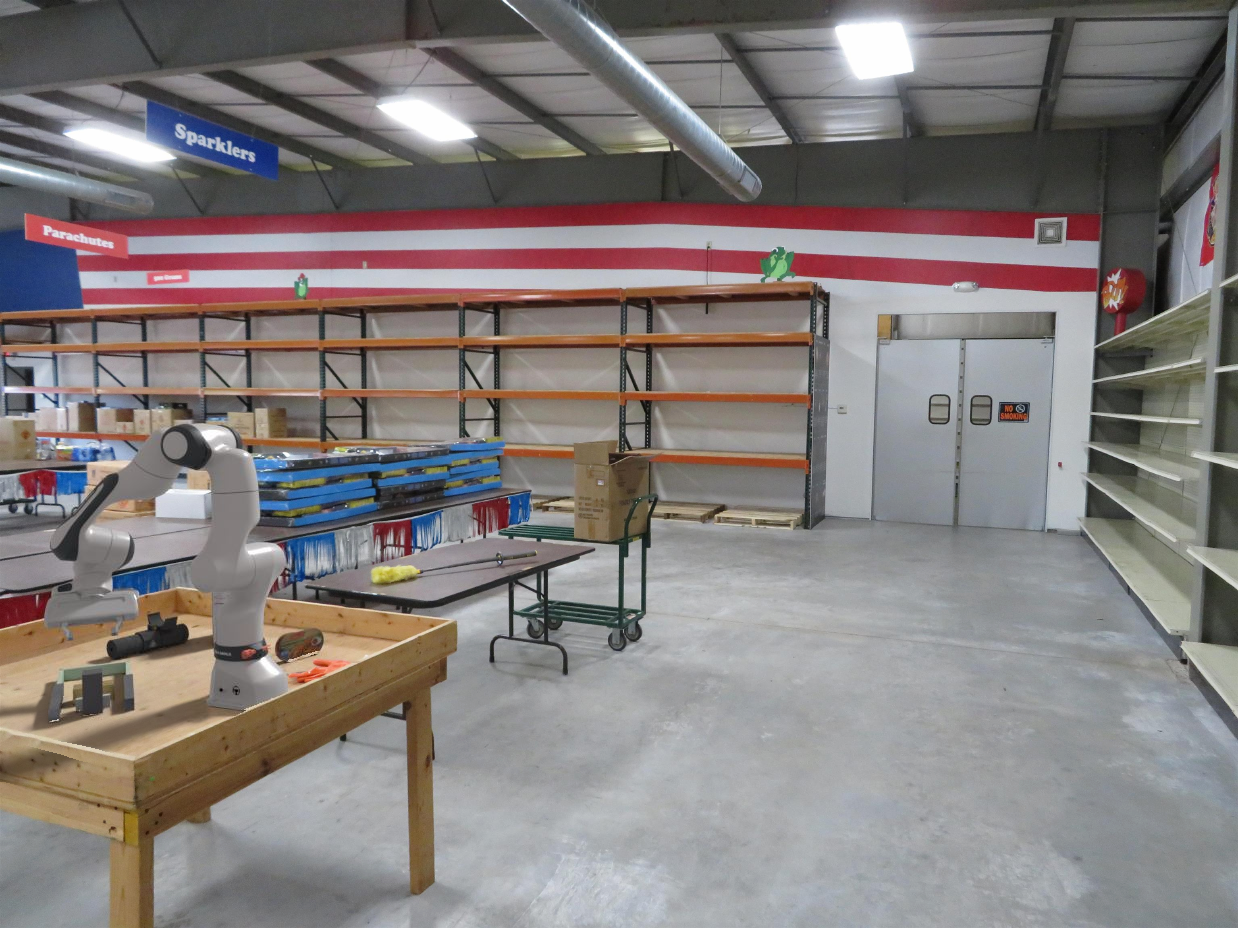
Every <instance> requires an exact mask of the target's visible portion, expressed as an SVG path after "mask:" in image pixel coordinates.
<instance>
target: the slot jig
mask: <svg viewBox="0 0 1238 928" xmlns="http://www.w3.org/2000/svg"><path fill="white" fill-rule="evenodd" d="M64 684H65V682H64V683H60V684H57V683H54V685H53V688H52V692H51V697H50V702H49V706H48V722H49V721H52V720H57V719H59V718H60V719H61V714H60V713H62V709H61V707H63V703H64V702H63V701H64V697H63V696H65V685H64ZM134 687H135V686H134V674H133V673H131V674H128V675H126V674H123V689H124V690H123V693H124V696H123V698H124V699H123V701H124V712H130V711H135V688H134ZM62 702H63V703H62Z"/></svg>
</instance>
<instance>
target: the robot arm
mask: <svg viewBox="0 0 1238 928" xmlns="http://www.w3.org/2000/svg"><path fill="white" fill-rule="evenodd" d="M243 445H244V443H243V439H242V437H241V434H240V433H239V432H238V431H237V430H236V429H234V428H232V427H230V426H227V425H223V424H210V423H209V424H208V423H206V422H205V423H204V422H200V423H197V422H196V423H181V424H176V425H174V426H172V427H168V426H167V427H164V426H163V427H159V428H158V429H157V428H156V430H154V431H153V432H152V433H151V434H150V435H149V436H148V437H147V438H146V439H145V441H144V442H143V443H142V445H140V447H139V449H138V451H137V452H136V453H135V455H134V457H133V458H132V460H131V461H130V462H129V463H128V464H127V465H126V466H125V467H123V468H122V469H120V470H118V471H117V472H113V473H109V474H107V475H106V476H105V477H104V478H103V479H102V480H101V481H100V482H99V483H98V484H97V485H95V487H94V488H93V489H92V490H91V492H89V494H88V495H87V496H86V497H85V499H84V500H83V501H82V502H81V503H80V504H79V506H78V507H77V508H76V509H75V510H74V512H72V514H71V515H70V516H69V517H68V518H67V519H65V520H64V521H63V522H62V523H61V524H60V525H59V526H58V527H57V528H56V529H55V531H54V533H53V534H52V535H51V538H50V542H49V548H50V550H51V552H52V553H53V555H54V556H55V557H56V558H57V559H58V560H59V561H63V562H72V571H73V573H74V577H73V579H72V581H68V582H66V583H62V584H59V585H55V586H54V587H52V589H51V595H50V596H51V597H50V598H49V599H48V600H47V603H46V606H45V611H44V616H43V621H44V622H43V623H44V626H45V628H46V629H59V628H61V629H60V630H61V632H62V633H63V634H64V635H65V638H66V642H71V641H74V635H75V634H74V631H70V630H69V627H79V626H80V627H81V626H88V625H89V626H91V625H99V624H107V623H108V624H109V623H110V624H111V623H116V625H115V626H111V627H110V632H111V633H110V635H111V637H114V636H115V637H116V636H119V630H120V629H121V627H122V626H123V624H124V623H123V622H127V621H135V620H136V619H137V618H138V617H139V604H138V601H139V600H140V592H139V591H138V590H137V589H135V588H133V587H126V588H113V587H114V586H113V585H114V584H113V583H114V582H113V577H112V574H113V572H117V571H118V570H120V569H122V568H123V567H125V566H126V565H128V564H129V563H130V562H131V561H132V560H133V557H134V555H135V550H136V549H135V548H136V547H135V544H136V543H135V541H134V538H133V537H132V535H131V534H130V533H129V532H126V531H123V530H118V529H114V528H113V529H112V528H106V527H102V526H96V525H93V524H94V522H95V521H96V520H97V519H98V517H99V516H100V515H101V514H102V513H103V512H104V510H106V508H108V507H109V506H111V505H113V504H116V503H119V502H126V501H128V502H129V501H140V500H142V501H143V500H152V499H156V498H159V497H161V496H163V495H165V494H166V493H167V492H168V491H169V490H170V489H171V488H172V486H173V485H174V484H175V482H176V480H177V479H178V477H179V476H180V475H179V474H180V473H181V471H182V469H183V468H187V469H190V470H194V471H200V470H201V469H203V470H205V472H207V474H208V475H209V479H210V480H209V481H210V500H211V524H210V525H211V526H210V531H209V533H208V534H209V535H208V537H207V539H206V542H205V544H204V546H203V547H202V550H201V551H200V552H199V553H198V555H197V556H195V557H194V558H193V560H192V561H191V564H190V565H189V566H190V567H189V571H188V572H189V573H188V574H189V580H190V582H191V585H192V586H193V587H194V589H196V590H197V591H198V592H200V593H205V594H212V593H223V592H227V591H231V593H230V595H229V597H228V599H227V601H226V602H225V603H224V604H223V605H222V606H221V607H220V608H219V610H218V611H217V614H216V642H215V643H214V646H213V657H214V658H215V661H214V665H213V667H212V669H211V674H210V675H211V676H210V684H209V694H208V695H209V696H208V698H207V699H206V701H205V705H206V706H209V707H217V708H223V709H230V710H236V711H242V710H244V709H246V708H249V707H252V706H254V705H257V704H259V703H262V702H265V701H268V700H270V699H271V698H275V697H277V696H280V695H282V694H284V693H286V692H288V691H289V690H294V689H293V688H290V687H289V681H288V677H287V673H286V672H285V669H284V667H281V666H280V665H279V664H278V663H277V662H276V661H275V660H274V659H273V658H272V656H270V654H269V650H270V649H271V644H267V641H266V639H265V637H264V619H265V618H264V615H265V608H266V604H267V603H266V602H267V600H268V596H269V594H270V591H272V590H271V589H272V587H273V585H274V583H275V582H276V581H277V579H278V578H279V577H280V576H281V575H282V573H283V572H284V570H285V568H286V562H287V561H286V560H287V559H286V554H285V553H284V550H283V548H281V546H280V545H278V544H277V543H274V542H266V541H263V542H262V541H261V542H260V541H255V542H250V543H247V540H248V537H249V535H250V532H251V531H252V530H253V529H254V528H255V527H257V525H258V524H259V522H260V519H261V509H260V508H261V507H260V491H259V481H258V480H259V479H258V475H257V469H256V464H255V462H254V458H253V456H252V454H251V453H250V452H248V451H247V450H244V449H243V447H244V446H243Z"/></svg>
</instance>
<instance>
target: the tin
mask: <svg viewBox="0 0 1238 928" xmlns="http://www.w3.org/2000/svg"><path fill="white" fill-rule="evenodd" d="M324 641H325V637H324V634H323V632H322V631H321V630H320V629H318V628H315V627H306V628H301V629H299V630H294V631H290V632H287V633H283V634H282V635H281V636H280V637H279V638H278V639H277V640H276V642H275V644H274V645H275V647H274V652H275V656H276V657H277V659H278V660H280V661H282V660H283V662H285V661H288V660H289V659H294V658H297V657H300V656H302V655H306V654H308V653H312V652H315V651H319V652H320V651H321V650H322V649H323V646H324Z"/></svg>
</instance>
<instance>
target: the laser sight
mask: <svg viewBox="0 0 1238 928" xmlns="http://www.w3.org/2000/svg"><path fill="white" fill-rule="evenodd" d="M146 615H147V623H148V624H147V626H146V627H147V628H146V630H141V631H136V632H135V633H134V634H131V635H127V636H122V637H118V638H114V639H110V640H108V641H107V643H106V647H105V648H106V653H107V656H108V658H109V659H111V660H115V659H119V658H123V657H128V656H131V655H137V654H141V655H142V654H146V653H149V652H154V651H157V650H161V649H162V650H163V649H167V648H170V647H174V646H177V645H180V644H181V643H185V642H188V639H189V638H190V630H189V628H188V626H187V625H186V624H185V623H178V618H179V616H173V617H172V616H171V617H168V618H164V619H163V618H162V616H161V612H160V611H157V612H151V613H147V614H146Z"/></svg>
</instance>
